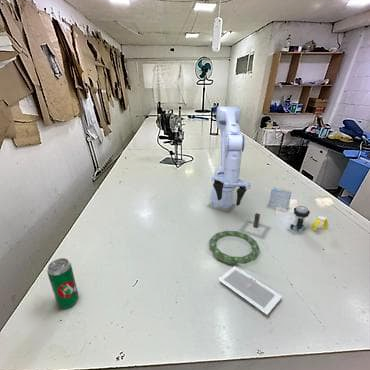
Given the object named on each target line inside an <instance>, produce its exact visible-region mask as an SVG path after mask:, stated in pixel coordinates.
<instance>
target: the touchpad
mask: <svg viewBox="0 0 370 370" xmlns="http://www.w3.org/2000/svg"><path fill="white" fill-rule="evenodd" d="M217 280H218V281H219V282H221V283H222V284H224V285H225V286H226V287H228V288H229V289H230V290H232V291H233V292H234V293H236V294H237V295H239V296H240V297H241V298H243V299H244V300H246V302H248V303H250V304H251V305H253V306H254V307H255V308H257V309H258V310H259V311H261V312H263V313H264V314H265V315H269V313H270V312H271V311H272V310H273V308H274V307H275V306H276V305H277V304H278V303H279V301H281V299H283V295H282V294H280V293H279V292H277V291H276V290H274V289H272V288H270V287H269V286H267V285H266V284H264V283H263V282H261V281H260V280H258V279H256V278H255V277H253V276H252V275H250V274H249V273H246V272H245V271H244V270H242V269H240V268H238V267H237V265H234V266H233V267H231V268H230V269H229V270H227V271H226V272H225V273H223V275H221V276H220V277H219V278H218V279H217Z"/></svg>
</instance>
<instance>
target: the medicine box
mask: <svg viewBox="0 0 370 370" xmlns="http://www.w3.org/2000/svg"><path fill="white" fill-rule="evenodd" d="M291 196H292V190H290V189H287V188H282V187H276V186H272V188H271V190H270V195H269V201H268V206H271V207H275V208H279V209H282V210H288V209H289V206H290V202H291V198H292V197H291Z"/></svg>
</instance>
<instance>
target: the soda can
mask: <svg viewBox="0 0 370 370" xmlns="http://www.w3.org/2000/svg"><path fill="white" fill-rule="evenodd" d="M46 272H47V276H48V280H49V283H50V286H51V289H52V293H53V297H54V300H55V302H56V306H57V307H58V308H60V309H68V308H71V307H73V306H74V305H75V304H76V303H77V302H78V300H79V298H80V295H79V291H78V288H77V283H76V279H75V275H74V271H73V266H72V263H71V262H70V261H69V260H68V259H67V258H63V257H62V258H57V259H54V260H53V261H51V262H50V263H49V264H48V266H47V271H46Z"/></svg>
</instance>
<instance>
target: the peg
mask: <svg viewBox="0 0 370 370" xmlns="http://www.w3.org/2000/svg"><path fill="white" fill-rule="evenodd" d="M260 218H261V213H257V212H256V213H255V214H254V217H253V225H252V227H253V228H254V229H258V228H259V224H260Z"/></svg>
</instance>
